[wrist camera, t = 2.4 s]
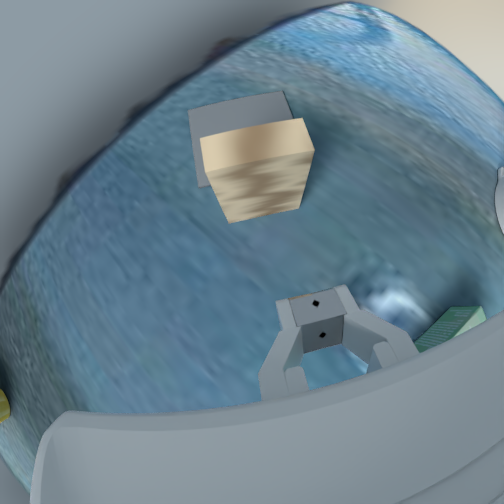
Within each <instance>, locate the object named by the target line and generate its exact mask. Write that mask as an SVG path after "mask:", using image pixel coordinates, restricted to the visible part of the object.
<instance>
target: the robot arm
mask: <svg viewBox="0 0 504 504" xmlns="http://www.w3.org/2000/svg"><path fill="white" fill-rule="evenodd" d="M495 207H496V213H497V217H498V221H499V224H500V227H501V229H502V232H503V234H504V167H501V168H499V169H498V184H497V187H496V191H495ZM276 307H277V313H278V318H279V324H280V329H281V331H279V333H278V335H277V337H276V339H275V341H274V343H273V345H272V347H271V349H270V351H269V353H268V355H267V357H266V359H265V361H264V363H263V365H262V367H261V369H260V371H259V373H258V377H259V384H260V391H261V397H262V401H259V402H253V403H247V404H241V405H235V406H228V407H220V408H212V409H203V410H192V411H180V412H163V413H97V412H82V411H66V412H64V413H63V414H62V415H60V416H59V417H58V418H57V419H56V420H55V421H54V422H53V424H52V425H51V426H50V427H49V428H48V429H47V430H46V431H45V433H44V434H43V437H42V439H41V442H40V445H39V448H38V452H37V457H36V461H35V466H34V472H33V478H32V485H31V496H30V504H504V310H502V311H501V312H499V313H497V314H496V315H494V316H492V317H491V318H489V319H487V320H486V321H484V322H482V323H480V324H478V325H477V326H475V327H473V328H471V329H469V330H467V331H466V332H464V333H462V334H460V335H458V336H456V337H454V338H452V339H450V340H448V341H446V342H444V343H442V344H439V345H437V346H435V347H433V348H431V349H428V350H426V351H424V352H422V353H419V352H418V350H417V348H416V346H415V345H414V343H413V341H412V340H411V338H410V336H409V335H408V333H407V332H406V331H404V330H402V329H400V328H398V327H396V326H394V325H392V324H390V323H388V322H387V321H385V320H383V319H381V318H379V317H377V316H375V315H373V314H371V313H369V312H367V311H365V310H360V309H359V308H358V306H357V304H356V302H355V300H354V299H353V297H352V295H351V293H350V292H349V290H348V288H347V286H346V285H341V286H337V287H333V288H330V289H326V290H322V291H318V292H314V293H311V294H306V295H301V296H297V297H292V298H288V299H283V300H278V301H276ZM338 344H342V345H343V346H345V347H346V348H347V349H349V350H350V351H351V352H353V353H354V354H355V355H357V356H358V357H359V358H361V359H362V360H363V361H365V362H366V363H367V364H369V366H368V369H367V373H366V374H364V375H361V376H358V377H355V378H352V379H349V380H346V381H342V382H339V383H336V384H332V385H329V386H325V387H321V388H318V389H314V390H310V391H309V387H308V384H307V381H306V377H305V374H304V370H303V368H302V367H300V364H301V361H302V358H303V355H304V354H305V353H308V352H312V351H315V350H319V349H322V348H326V347H330V346H334V345H338Z"/></svg>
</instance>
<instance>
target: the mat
mask: <svg viewBox="0 0 504 504" xmlns="http://www.w3.org/2000/svg"><path fill="white" fill-rule="evenodd" d="M188 115H189V123H190V131H191V138H192V146H193V153H194V160H195V167H196V174H197V180H198V187H199V188H202V187H206V186H210V185H211V184H210V182H209V180H208V177H207V175H206V173H205V168H204V162H203V156H202V150H201V143H200V138H203V137H206V136H211V135H215V134H219V133H223V132H228V131H232V130H237V129H241V128H246V127H251V126H256V125H262V124H267V123H273V122H279V121H285V120H292V119H293V117H292V114H291V111H290V109H289V106H288V104H287V101H286V99H285V96H284V94H283V91H278V92H271V93H265V94H259V95H253V96H248V97H243V98H237V99H233V100H228V101H223V102H219V103H215V104H210V105H206V106H202V107H198V108H195V109H191V110H188Z"/></svg>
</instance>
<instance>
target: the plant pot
mask: <svg viewBox="0 0 504 504" xmlns="http://www.w3.org/2000/svg"><path fill="white" fill-rule="evenodd" d="M9 416H10V406H9V403H8V400H7V398H6V396H5V394H4V392H3V391H2V390H1V389H0V423H1V422H2V421H4V420H5V419H7V418H8V417H9Z"/></svg>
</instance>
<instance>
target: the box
mask: <svg viewBox="0 0 504 504" xmlns="http://www.w3.org/2000/svg"><path fill="white" fill-rule="evenodd" d="M486 320H487V318H486V315H485V313H484V311H483V308H482V307H481V306H451V307H450V308H449V309H448V310H447V311H446V312H445V313H444V314H443V315H442V316H441V317H440V318H439V319H438V320H437V321H436V322H435V323H434V324H433V325H432V326H431V327H430V328H429V329H428V330H427V331H426V332H425V333H424V334H423V335H422V336H421V337H420V338H418V339H417V340H416V341H415V342H414V345H415V346H416V348H417V350H418V352H419V353H422V352H424V351H426V350H428V349H431V348H433V347H435V346H437V345H439V344H442V343H444V342H446V341H448V340H450V339H452V338H454V337H456V336H458V335H460V334H462V333H464V332H466V331H467V330H469V329H471V328H473V327H475V326H477V325H478V324H480V323H482V322H484V321H486Z"/></svg>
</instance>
